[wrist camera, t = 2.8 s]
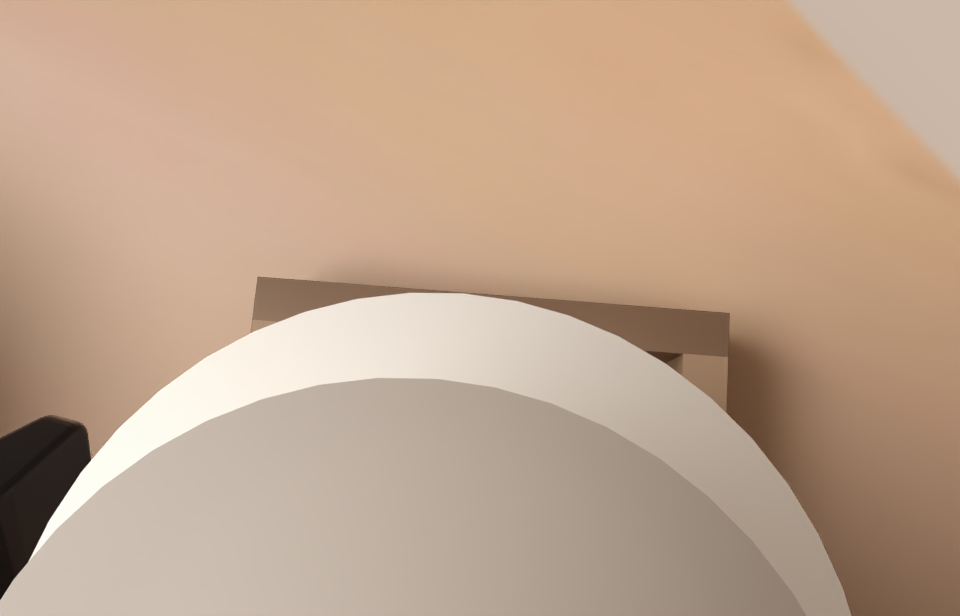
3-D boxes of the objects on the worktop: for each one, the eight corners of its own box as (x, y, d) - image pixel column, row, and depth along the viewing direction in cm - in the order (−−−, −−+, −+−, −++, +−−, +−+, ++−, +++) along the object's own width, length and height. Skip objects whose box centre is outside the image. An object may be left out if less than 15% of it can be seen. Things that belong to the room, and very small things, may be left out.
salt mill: (580, 656, 17) (1115, 1827, 2) (351, 636, 17) (-442, 1633, 3) (593, 425, 17) (1056, 260, 3) (374, 407, 18) (-134, 171, 3)
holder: (685, 785, 16) (712, 830, 14) (229, 743, 16) (193, 781, 15) (703, 329, 18) (729, 312, 16) (283, 296, 18) (257, 276, 16)
